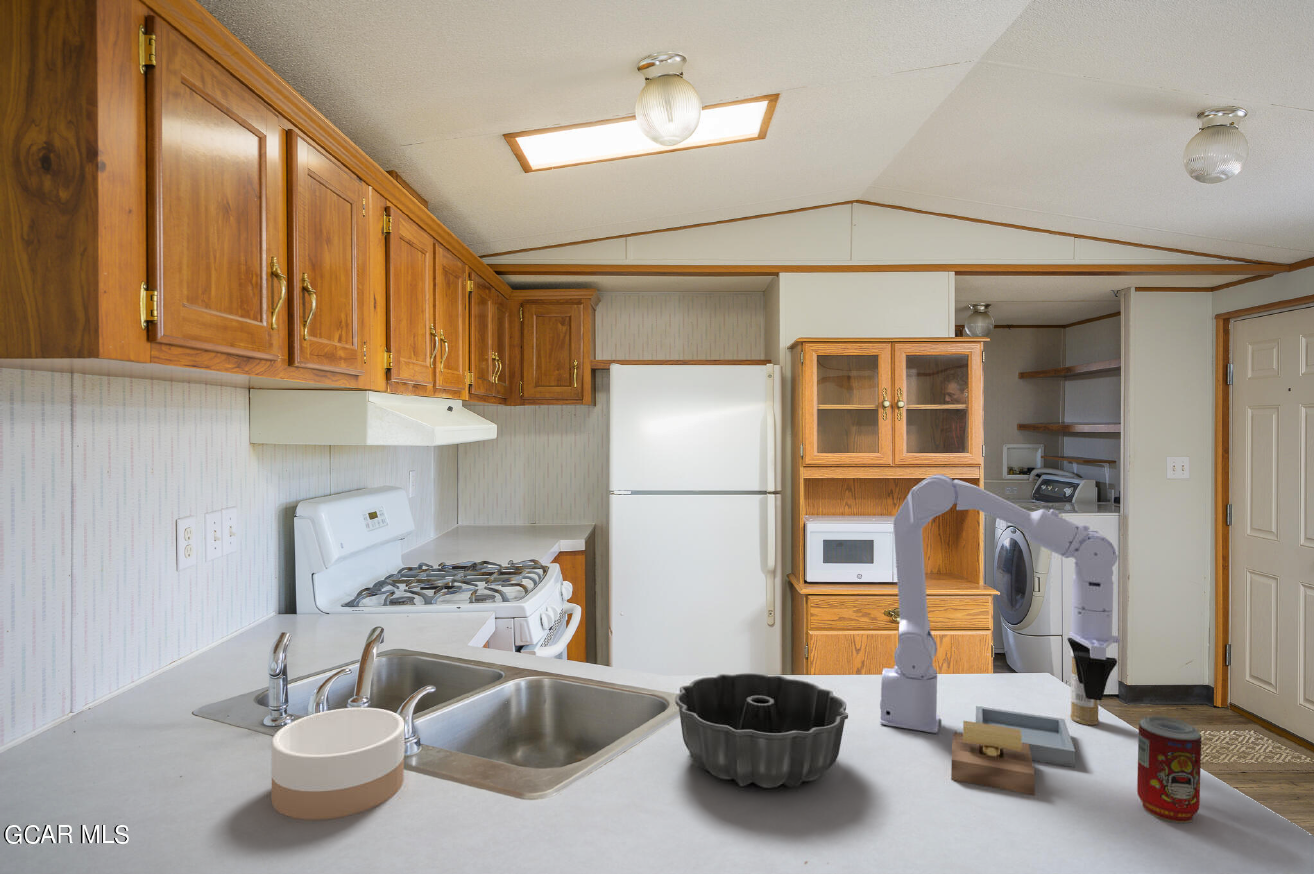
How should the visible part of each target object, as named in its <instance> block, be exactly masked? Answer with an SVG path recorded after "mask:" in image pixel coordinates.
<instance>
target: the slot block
mask: <svg viewBox="0 0 1314 874" xmlns="http://www.w3.org/2000/svg"><path fill="white" fill-rule="evenodd" d="M951 748H952V749H951V770H950V771H951V775H950V779H951V780H952V781H957V782H961V783H962V782H964V783H968V784H972V785H973V784H974V785H978V786H985V787H989V788H995V789H1000V790H1007V791H1010V792H1016V793H1021V794H1026V795H1027V794H1028V795H1031V796H1032V795H1033V796H1035V769H1034V768H1035V767H1034V763H1033V760H1032V758H1031V752H1030V747H1029V744H1025V743H1021V751H1018V750H1012V749H1006V748H1000V757H994V756H988V755H983V745H982V744H976V743H970V742H964V741H963V732H962V733H961V732H957V731H953V732H952V746H951Z"/></svg>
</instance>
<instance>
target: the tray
mask: <svg viewBox="0 0 1314 874" xmlns="http://www.w3.org/2000/svg"><path fill="white" fill-rule="evenodd" d="M975 722H976V723H983V724H989V725H996V726H1002V727H1008V728H1015V729H1020V730H1021V736H1022V740H1021V743H1025V744H1029V747H1030V752H1031V758H1032V761H1036V762H1040V761H1043V762H1042V763H1046V762H1048V764H1052V763H1053V765H1060V766H1064V765H1065V767H1069V768H1075V766H1076V764H1075V763H1076V750H1075V747H1074V744H1073V740H1072V738H1071V734H1070V731H1069V727H1068V726H1067V722H1066V720H1065V718H1062V717H1061V718H1060V717H1053V716H1048V715H1047V716H1046V715H1039V714H1033V713H1025V712H1020V711H1014V710H1006V709H999V708H993V707H986V706H978V705H976V706H975Z"/></svg>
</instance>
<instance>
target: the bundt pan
mask: <svg viewBox="0 0 1314 874" xmlns="http://www.w3.org/2000/svg"><path fill="white" fill-rule="evenodd" d="M674 701H675V705H676V706H677V707H678V709H679V710H678V711H679V716H680V717H679V719H680V726H681V734H682V739H683V743H684V745H685V747H686V749H687V751H688V753H689V756H690V758H691V759H692V762H693V763H694V764H695V765H696V766H697V767H699V768H701V769H702V770H705V771H709V773H711V774H712V775H713V776H715V777H717V778H719V779H721V780H734V781H736V782H737V784H738V785H739V786H741V787H746V786H747V785H749V784H752V783H754V784H755V785H757V786H759V787H761V788H766V789H772V788H776V787H778V786H780V785H782V784H783V785H785V786H786V787H789V788H796V787H798V786H799V785H800V784H801V783H802V782H810V781H813V780H816V779H818V778H819V777H820V776H821V775H823V774H824V772H826V771H827V770H829V769H830V768H831V767H833V765H835V762H836V761H837V759H838V757H839V755H840V749H841V744H842V739H843V732H844V729H845V728H844V727H845V723H846V720H848V719H849V713H848V712H847V703H846V701H845V700H844V699H842V698H840V697H839V696H836V695H834V691H832V690H829V689H826V688H821V686H819V685H817V684H815V683H813V682H809V681H806V680H801V679H795V678H788V677H785V676H783V675H779V674H778V675H768V674H762V673H754V672H753V673H752V672H746V673H744V672H742V673H735V674H734V673H733V674H727V673H720V674H718V675H716V676H706V677H700V678H697V679H694V680H693V681H691V682H690V683H689V685H688V684H687V685H683V686H680V687H679V692H678V694H676V695H675V699H674Z"/></svg>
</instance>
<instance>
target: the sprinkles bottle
mask: <svg viewBox="0 0 1314 874" xmlns="http://www.w3.org/2000/svg"><path fill="white" fill-rule="evenodd" d="M1070 656H1071V675H1070V678H1071V681H1070V685H1071V686H1070V703H1071V704H1070V706H1071V708H1070V709H1071V710H1070V716H1069V717H1070V719H1071V720H1072V721H1074V722H1076V723H1078V724H1081V725H1088V726H1092V725H1094V726H1095V725H1097V724H1099V722H1100V719H1099V705H1100V700H1092V699H1087V698H1086V696H1085V692H1084V686H1083V684H1081V683H1079V680H1078V676H1077V671H1076V664H1075V659H1074V655H1073V652H1072V649H1071V648H1070Z"/></svg>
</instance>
